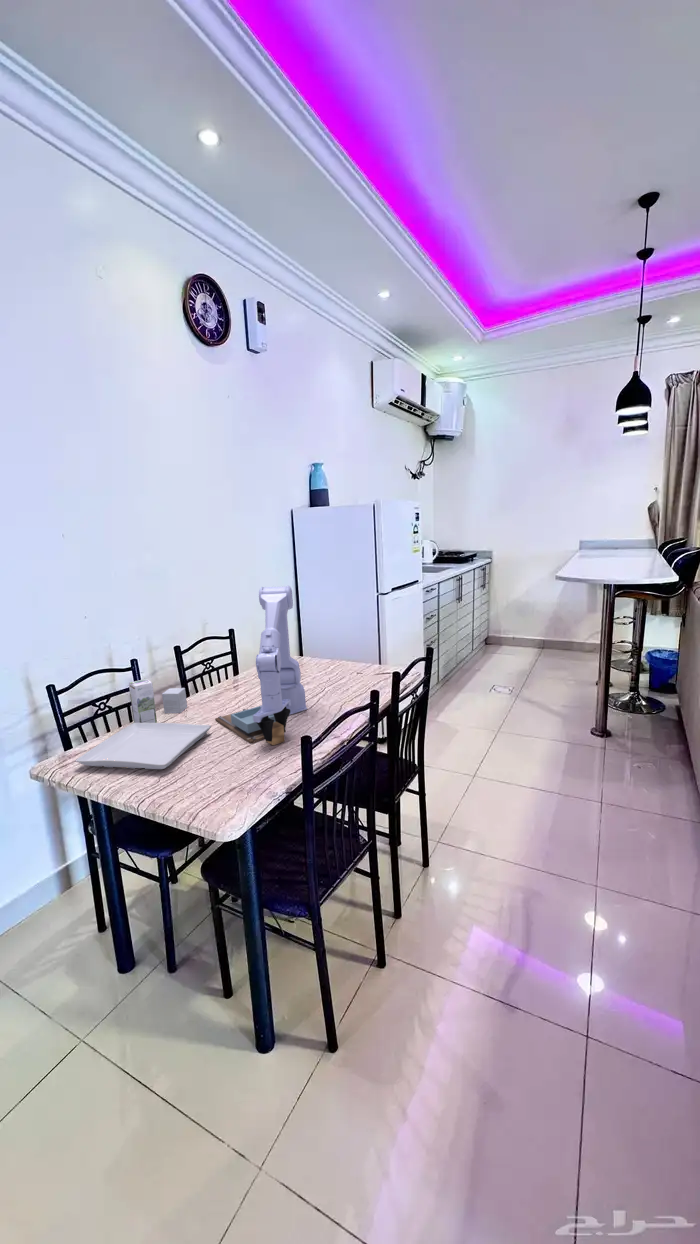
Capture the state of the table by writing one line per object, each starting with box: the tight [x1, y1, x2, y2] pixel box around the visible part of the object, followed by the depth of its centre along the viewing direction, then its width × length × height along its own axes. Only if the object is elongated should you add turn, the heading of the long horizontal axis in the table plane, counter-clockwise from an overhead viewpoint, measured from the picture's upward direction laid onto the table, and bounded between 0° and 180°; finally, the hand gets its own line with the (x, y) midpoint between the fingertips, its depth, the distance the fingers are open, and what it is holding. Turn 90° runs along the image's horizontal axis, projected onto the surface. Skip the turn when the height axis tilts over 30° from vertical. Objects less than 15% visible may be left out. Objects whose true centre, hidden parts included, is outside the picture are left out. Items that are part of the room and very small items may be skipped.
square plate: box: [75, 722, 212, 770], centre depth 147 cm, size 27×27×4 cm
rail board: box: [214, 708, 287, 745], centre depth 162 cm, size 12×25×1 cm, turn 38°
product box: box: [161, 687, 188, 714], centre depth 179 cm, size 6×6×7 cm
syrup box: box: [128, 678, 158, 723], centre depth 168 cm, size 6×6×14 cm
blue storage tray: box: [230, 705, 276, 735], centre depth 158 cm, size 11×11×4 cm
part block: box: [265, 722, 286, 746], centre depth 149 cm, size 4×4×5 cm
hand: (274, 736), depth 149 cm, fingers closed on part block, 5 cm apart
